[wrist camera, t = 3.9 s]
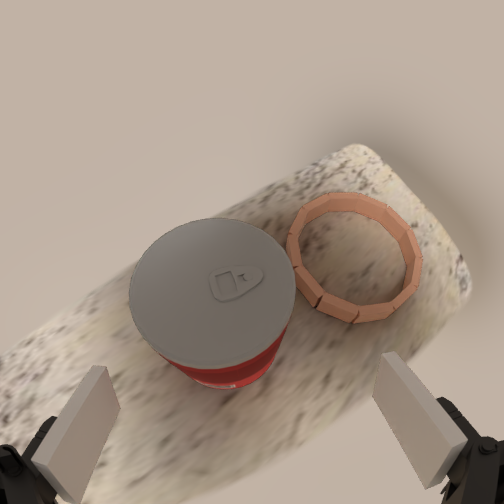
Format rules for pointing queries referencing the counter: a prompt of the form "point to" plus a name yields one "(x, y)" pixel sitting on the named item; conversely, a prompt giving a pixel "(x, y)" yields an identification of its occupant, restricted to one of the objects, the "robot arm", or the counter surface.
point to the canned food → (214, 300)
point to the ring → (373, 211)
